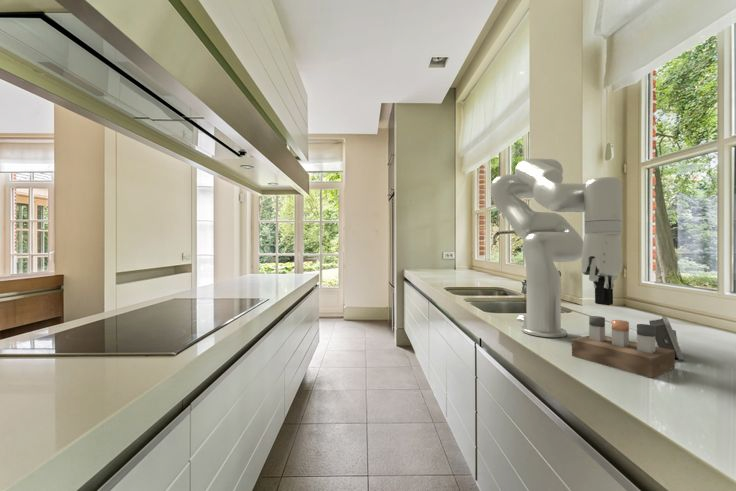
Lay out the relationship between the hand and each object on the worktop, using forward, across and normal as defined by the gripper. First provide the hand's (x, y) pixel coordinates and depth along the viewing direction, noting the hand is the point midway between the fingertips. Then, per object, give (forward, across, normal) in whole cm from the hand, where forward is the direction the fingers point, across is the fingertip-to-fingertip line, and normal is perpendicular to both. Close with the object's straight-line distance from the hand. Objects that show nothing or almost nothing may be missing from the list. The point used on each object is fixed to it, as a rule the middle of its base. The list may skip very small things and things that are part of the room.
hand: (603, 304), depth 81 cm
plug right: (+9, 0, +8) cm, 13 cm away
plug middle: (+9, 0, +3) cm, 10 cm away
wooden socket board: (+13, 0, +3) cm, 13 cm away
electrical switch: (+13, -16, +6) cm, 22 cm away
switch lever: (+9, 0, -2) cm, 9 cm away
